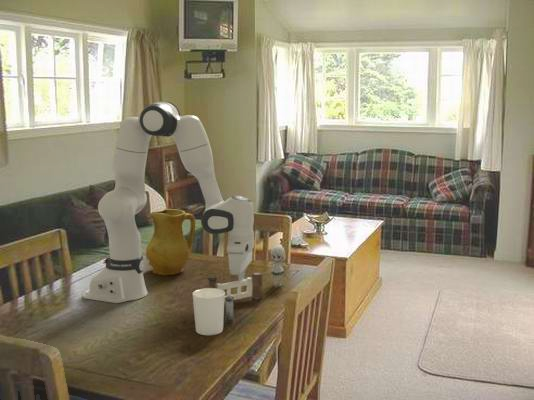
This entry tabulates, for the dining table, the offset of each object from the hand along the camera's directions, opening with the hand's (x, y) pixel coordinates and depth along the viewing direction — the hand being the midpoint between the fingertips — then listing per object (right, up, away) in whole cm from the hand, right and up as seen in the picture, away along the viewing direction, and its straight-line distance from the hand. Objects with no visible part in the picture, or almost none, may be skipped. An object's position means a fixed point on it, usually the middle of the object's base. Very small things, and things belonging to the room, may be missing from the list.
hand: (241, 280), depth 231 cm
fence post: (+6, -6, 0) cm, 8 cm away
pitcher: (-30, -1, +34) cm, 45 cm away
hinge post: (-9, -8, -10) cm, 16 cm away
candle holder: (-9, -12, -30) cm, 34 cm away
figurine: (+13, -4, +15) cm, 21 cm away
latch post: (-3, -10, -23) cm, 26 cm away
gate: (-2, -6, -6) cm, 9 cm away
